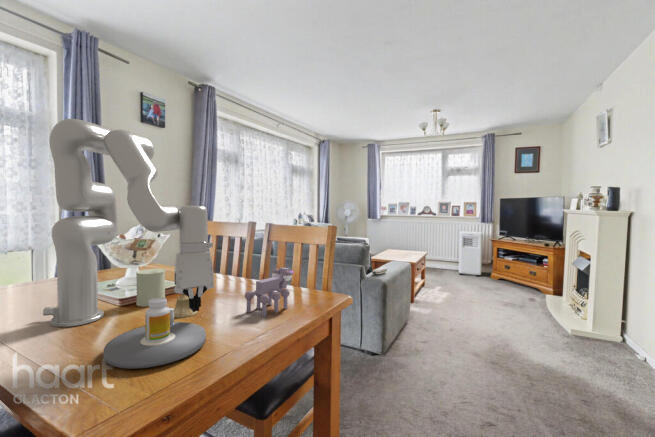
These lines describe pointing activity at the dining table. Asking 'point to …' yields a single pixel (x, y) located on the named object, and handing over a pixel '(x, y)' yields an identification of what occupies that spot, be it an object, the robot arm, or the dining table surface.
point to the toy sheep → (271, 290)
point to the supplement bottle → (157, 320)
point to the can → (150, 285)
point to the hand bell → (183, 307)
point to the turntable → (154, 346)
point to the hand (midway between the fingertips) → (195, 310)
